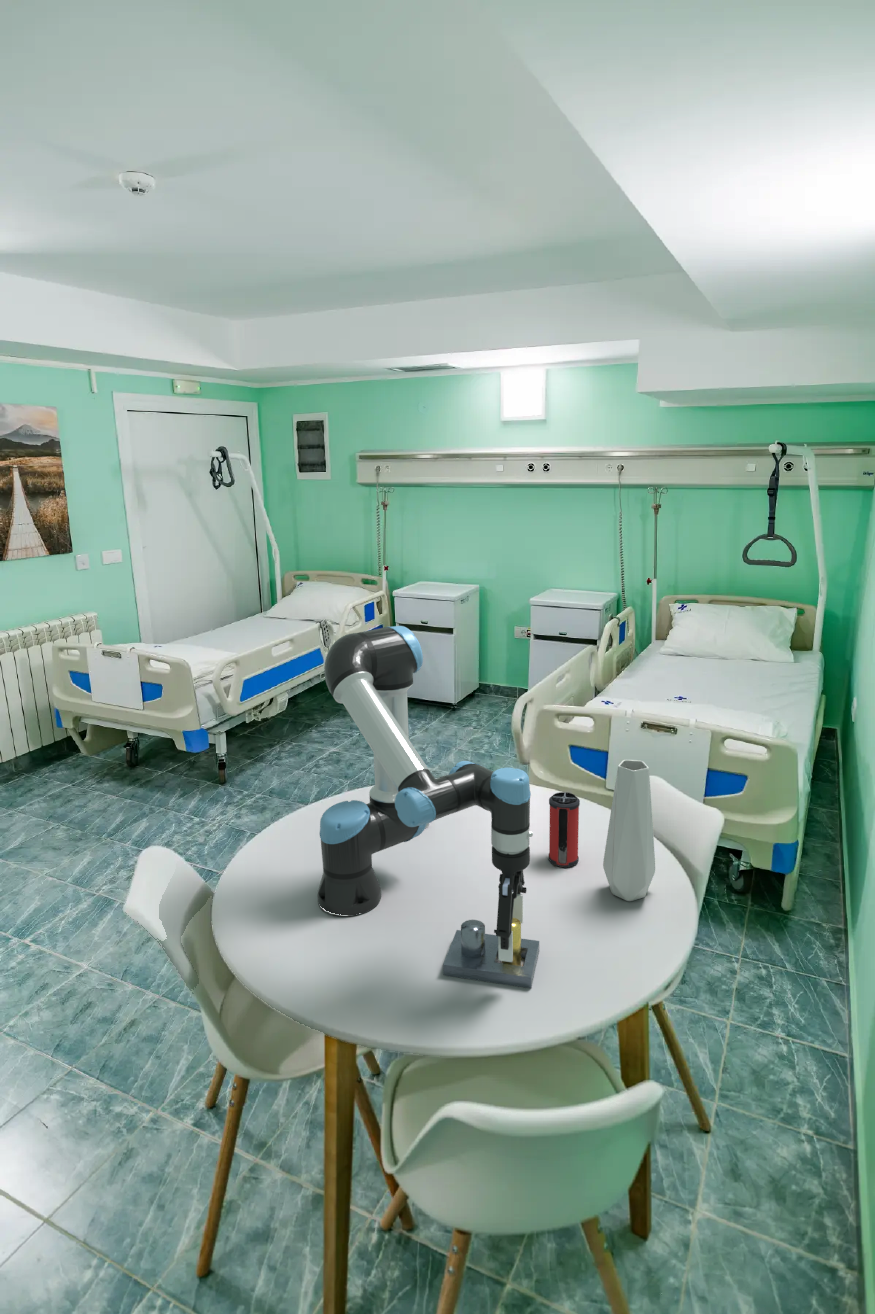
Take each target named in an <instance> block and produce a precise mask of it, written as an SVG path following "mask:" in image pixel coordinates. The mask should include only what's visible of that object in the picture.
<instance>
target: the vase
mask: <svg viewBox="0 0 875 1314" xmlns="http://www.w3.org/2000/svg"><path fill="white" fill-rule="evenodd" d="M650 779H651V777H650V767H649V766H648V764H646V762H645V761H643V760H639V759H638V760H637V759H623V760H622V761H620V763H619V764H618V765H617V769H616V776H615V782H614V789H613V795H612V796H613V797H612V803H611V808H610V809H611V810H610V816H609V822H608V829H607V836H606V840H605V841H606V842H605V848H604V855H603V864H602V865H603V871H604V874H605V877H606V880H607V883H608V886H609V889H610V892H611V894H612V895H614V896H615V897H618V898H619V899H622V900H624V901H625V902H633V901H636V900H640V899H643V898H645V897H646V895H647V893H648V890H649V889H650V885H651V883H652V880H653V878H654V876H655V873H656V856H655V855H656V854H655V852H656V851H655V839H654V824H653V823H654V822H653V810H652V809H653V808H652V796H651V795H652V794H651V793H652V792H651V790H652V789H651V780H650Z"/></svg>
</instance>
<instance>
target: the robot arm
mask: <svg viewBox="0 0 875 1314" xmlns="http://www.w3.org/2000/svg"><path fill="white" fill-rule="evenodd" d="M423 662H424V656H423V650H422V647H421V644H420V642H419V640H418V638H417V637H416V635H415V633H414V632H413V631H412V630H410V629H409V628H408V627H406V626H404V625H394V626H384V627H380V628H375V629H370V630H366V631H360V632H353V633H348V634H345V635H343V636H341V637H340V638H338V639H337V640H336V641H334V643H333V644H332V645H331V646H330V648H329V649H328V652H327V653H326V656H325V660H324V669H323V670H324V679H325V683H326V686H327V688H328V691H329V693H330V694H331V696H332V697H333V699H334V700H335V702H336V703H338V704H343V705H344V707H345V710H346V711H347V713H348V714H349V716H350V717H351V719H352V720H353V722H354V724H355V725H356V726H357V728H358V730H359V731H360V733H361V735H362V736H363V738H364V739H365V742H366V743H367V744H368V746H369V747H370V749H371V751H372V752H373V766H374V768H373V769H374V771H373V772H374V785H373V786H372V787H371V789H370V790H369V792H368V793H369V794H368V795H369V802H368V803H365V802H364V801H363V800H361V801H360V800H357V799H355V800H353V799H352V800H351V801H350V800H344V801H341V802H338V803H334V804H333V805H331V806H329V807H328V808H327V809H326V810H325V811H324V812H323V813H322V816H321V817H320V822H319V838H320V846H321V847H320V848H321V859H322V871H323V873H322V876H321V880H320V884H319V886H318V890H317V903H318V902H319V904H320V906H321V907H322V908H324V909H325V910H326V911H329V912H331V913H335V914H339V915H340V914H341V915H355V916H357V915H356V914H359V913H363V914H365V912H366V913H368V912H369V911H372V910H373V909H374V908H376V907H377V906H378V905H379V904H380V902H381V898H382V887H381V884H380V882H379V880H378V879H379V878H377V875H376V873H375V870H374V867H373V861H372V860H373V859H372V858H373V856H372V855H373V854H376V853H379V852H381V851H384V850H386V849H389V848H391V847H394V846H396V845H399V844H401V843H407V842H410V841H411V840H413V839H414V838H416V837H419V836H420V835H422V833H423V832H424V831H425V829H426V828H425V827H426V824H428V823H429V824H431V823H433V822H434V821H436V820H439V819H441V818H444V817H446V816H449V815H452V814H454V813H458V812H460V811H463V810H466V809H469V808H473V807H474V806H478V807H479V808H482V809H483V810H486V811H488V812H490V817H491V824H490V825H491V826H490V827H491V828H490V830H491V832H490V833H491V835H490V837H491V839H490V840H491V845H492V846H491V864H492V865H493V866H494V867H495V868H496V869H497V870H499V871H501V873H500V874H499V884H498V885H497V886H498V902H497V917H496V929H494V930H493V933H494V934H495V935H496V936H498V955H499V959H498V961H501V962H502V961H506V962H512V961H513V931H511V929H512V918H516V919H518V920H519V921H520V922H521V924H523V923H524V894H527V887H524V885H525V883H526V882H525V876H524V870H526V869H527V868H528V867H529V865H530V861H531V855H530V854H531V850H530V849H531V848H530V838H532V837H533V835H534V834H533V832H532V831H530V827H531V825H530V818H531V816H530V815H531V814H530V813H531V808H530V805H531V796H532V794H531V787H530V777H529V774H527V772H526V771H524V770H523V769H521V768H513V767H502V768H501V767H500V768H498V769H496V770H493V771H492V770H491V769H489V768H487V767H485V766H483V765H481V764H479V763H475V762H472V761H468V760H462V761H458V762H457V763H456V764H455V765H454V766H453V767H451V769H450V771H449V772H448V774H447V775H444V776H440V777H437V778H435V776H434V775H433V773H432V772H431V770H430V769H429V767H428V765H427V764H426V763H425V761H424V760H423V758H422V756H421V755H420V754H419V752H418V751H417V750H416V748H415V747H414V745H413V743H412V741H410V738H409V736H410V734H409V732H410V731H409V714H408V713H409V711H408V709H409V708H408V690H409V689H410V688H411V687H412V686H414V674H417V672H418V671H420V670H421V667H422V666H423ZM319 904H318V905H319ZM320 906H319V907H320ZM367 911H368V912H367Z"/></svg>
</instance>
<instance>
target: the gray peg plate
mask: <svg viewBox="0 0 875 1314" xmlns="http://www.w3.org/2000/svg"><path fill="white" fill-rule="evenodd" d="M539 954H540V940H535V939H528V938H521V959H524V963H523V966H522V965H521V966H517V965H510V964H503V963H502V962H498V961H499V955H498V936H496V934H490V933H486V925H485V923H484V922H483V921H481V920H477V919H468V920H465V921H464V922H462V923H461V924H460V929H456V931H455V934H454V936H453V939H452V942H451V943H450V946H449V948H448V951H447V954H446V956H445V959H444V961H443V963H442V964H443V965H442V971H443V973H442V974H443V976H444V977H445V976H447V977H453V978H461V979H466V980H473V981H479V982H480V981H481V982H485V983H486V982H487V983H493V984H498V985H500V984H501V985H505V986H512V987H518V988H525V989H532V986H533V984H534V983H533V982H534V978H535V974H536V973H535V972H536V969H537V964H538V961H539V960H538V959H539Z"/></svg>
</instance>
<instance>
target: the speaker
mask: <svg viewBox="0 0 875 1314" xmlns="http://www.w3.org/2000/svg"><path fill="white" fill-rule="evenodd" d="M548 805H549V838H548V839H549V841H548V842H549V846H548V847H549V849H548V850H549V853H548V861H549V862H550V863H551V864H552V865H553V866H555V867H562V868H570V867H573V866H575V865H576V864H578V862H579V861H580V859H579V822H580V821H579V819H580V817H579V816H580V812H579V811H580V805H581V803H580V799H579V798H578V797H577V796H576V795H575V794H573V793H571V792H567V791H562V792H561V791H560V792H556V793H553V795H551V796H550V797H549V799H548Z"/></svg>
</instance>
